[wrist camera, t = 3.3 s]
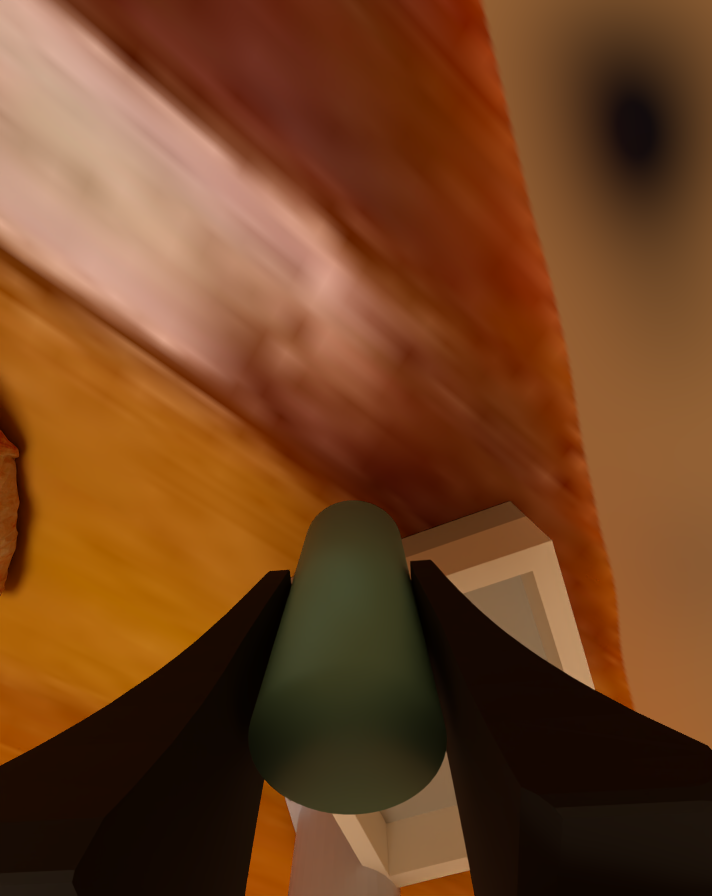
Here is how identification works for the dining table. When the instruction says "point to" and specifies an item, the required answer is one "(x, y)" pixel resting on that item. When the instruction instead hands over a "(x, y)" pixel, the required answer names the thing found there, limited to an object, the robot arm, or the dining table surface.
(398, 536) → the peg
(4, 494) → the croissant
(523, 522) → the bore tray
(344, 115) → the dining table surface
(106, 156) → the dining table surface
